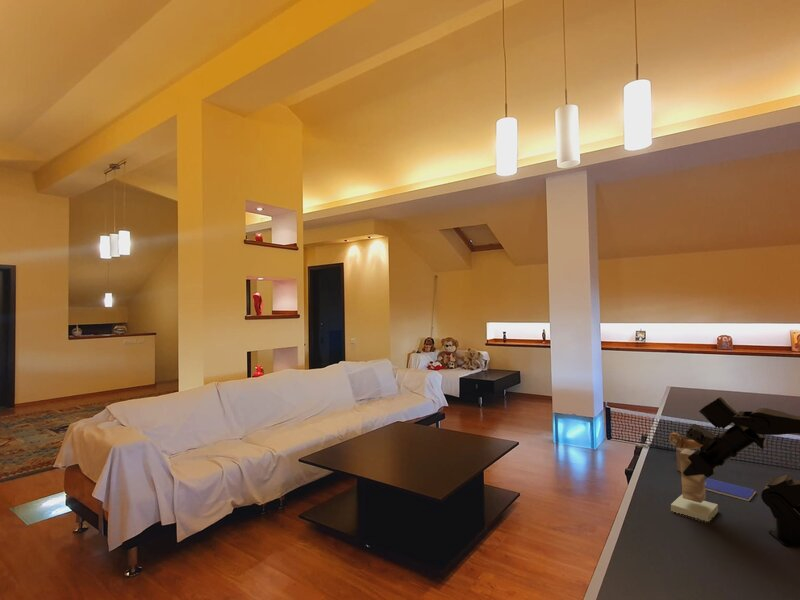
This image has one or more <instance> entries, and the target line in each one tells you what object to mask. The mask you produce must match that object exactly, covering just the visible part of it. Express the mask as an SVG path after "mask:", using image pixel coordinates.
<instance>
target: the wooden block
mask: <svg viewBox="0 0 800 600" xmlns="http://www.w3.org/2000/svg"><path fill="white" fill-rule="evenodd" d="M675 448H676V447H675ZM684 449H688V448H676V449H675V451H676V452H675V453H676V469H677V471H678V472H680V473H681V464H680V452H682V451H683V450H684ZM688 450H691V449H688Z"/></svg>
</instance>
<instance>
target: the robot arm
mask: <svg viewBox="0 0 800 600" xmlns="http://www.w3.org/2000/svg"><path fill="white" fill-rule="evenodd" d="M698 413H699V414H701V416H702V417H704V418H705V419H706V420H707V421H708V422H709V423H710V424H711V425H712V426H713V427H715V429H717V428H718V429H722V430H723V429H726V428H727V427H729V426H730V425H731V424H732V423H733V425H732V426H731V427H729V428H728V429H727V430H725V431H723V432H722V433H720V432H719V433H717V434H716V435H715V433H712V432H711V431H710V430H707V429H706V428H704V427H703V426H700V425H699V424H697V423H693V424H692V425H690V426H689V428H688V429H687V430H686V434H685V435H684V436H685V437H686V438H687V439H689V440H694V441H696V442H697V443H699V444H701V445H703V446H701V447H700V450H699V449H698V450H694V451H695V452H694V453H692V454H691V455H690V456H688V459H689V460H690V461H691V464H690V465H689V466H688V467H687V468H686V470H685V471H684V472H683V474H684V475H685V476H693V475H704V476H705V477H706V478H710V477H711V476H713V475H714V474H715V473H716V472H717V471H718V467H719V466H723V465H724V464H725V463H726V462H728V461H729V460H731V459H732V458H735V457H736V456H737V455H739V454H740V453H742V452H743V451H745V450H746V449H748V448H749V447H751V446H752V445H754V444H755V445H756V446H758V447H759V448H760V449H762V450H763V449H765V447H766V446H768V445H767V440H766V439H767V436H781V435H783V436H784V435H788V434H789V435H791V434H796V435H797V434H798V435H800V416H799V415H794V414H789V413H787V412H784V411H782V410H781V411H780V410H777V409H776V410H775V409H771V408H766V407H761V408H760V407H759V408H756V409H755V410H746V411H744V410H743V411H742V410H740V411H738V412H737V411H736V410H735V409H734V408H733V407H731V406H730V405H729V404H728V403H727V402H726V401H725V399H723V398H722V397H720V396H719V397H717V398H716V399H715V400H713V401H712V402H710V403H708V404H706V405H704V406H703V407H702V408H700V409H699V411H698ZM760 496H761V497H760V498H761V500H762V501H763V503H764V505H766V506H767V507H768V508H769V510H770V512H771V514H772V516H773V518H774V529H775V530H773V529H771V530H770V529H769V530H768V534H770V535H771V536H772V537H774V538H775V540H777V541H778V542H780V543H781V544H782V545H783V546H785V547H793V548H795V547H796V548H797V547H798V548H799V547H800V479H793V478H792V477H791V474H790V473H786V474H785V475H783V476H780V477H779V476H778V477H773V476H772V477H771V478H770V481H768V483H767V484H766V485H765V486H764V488H763V490H762V491H761V495H760Z"/></svg>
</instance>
